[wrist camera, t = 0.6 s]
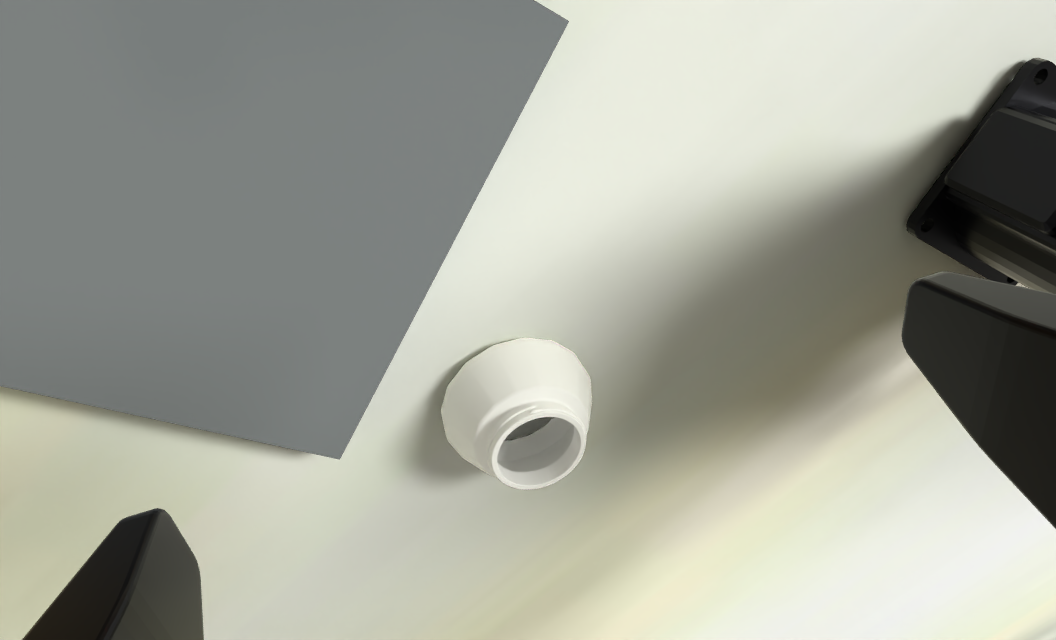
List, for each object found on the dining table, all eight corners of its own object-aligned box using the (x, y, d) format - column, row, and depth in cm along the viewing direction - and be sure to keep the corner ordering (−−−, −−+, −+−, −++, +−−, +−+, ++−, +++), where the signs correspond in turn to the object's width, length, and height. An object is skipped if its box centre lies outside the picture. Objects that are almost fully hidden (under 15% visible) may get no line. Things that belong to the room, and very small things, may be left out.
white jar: (587, 431, 27) (579, 315, 24) (619, 487, 25) (613, 365, 22) (452, 469, 26) (427, 353, 24) (471, 531, 24) (446, 410, 21)
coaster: (553, 12, 19) (569, 21, 18) (336, 434, 24) (339, 459, 23) (-137, -398, 13) (-170, -419, 12) (-249, 298, 17) (-280, 325, 16)
